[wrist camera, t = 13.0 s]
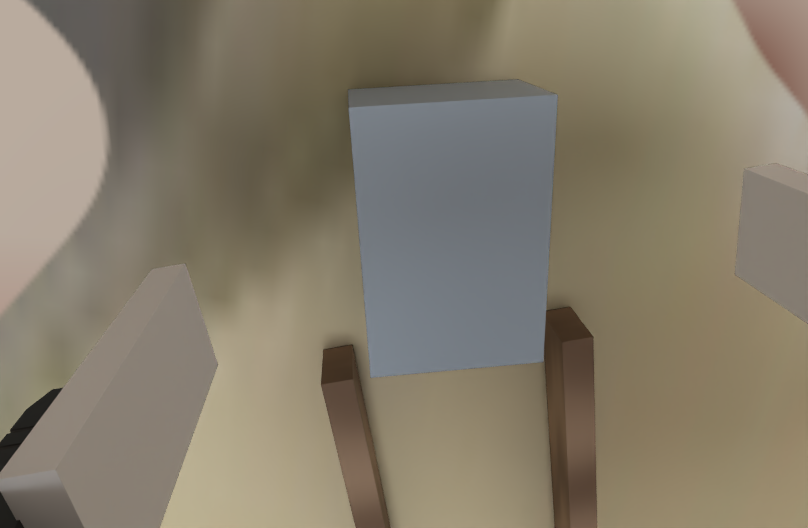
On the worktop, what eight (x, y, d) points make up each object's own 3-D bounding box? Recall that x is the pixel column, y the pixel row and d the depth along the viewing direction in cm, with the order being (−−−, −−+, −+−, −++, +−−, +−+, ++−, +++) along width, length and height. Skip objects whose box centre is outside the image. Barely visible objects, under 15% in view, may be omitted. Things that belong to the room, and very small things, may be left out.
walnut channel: (580, 574, 31) (598, 619, 29) (384, 611, 31) (387, 659, 29) (570, 306, 25) (593, 336, 22) (323, 349, 24) (321, 384, 22)
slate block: (510, 303, 25) (543, 361, 21) (366, 315, 24) (370, 377, 20) (516, 78, 21) (557, 94, 17) (348, 88, 21) (348, 107, 17)
